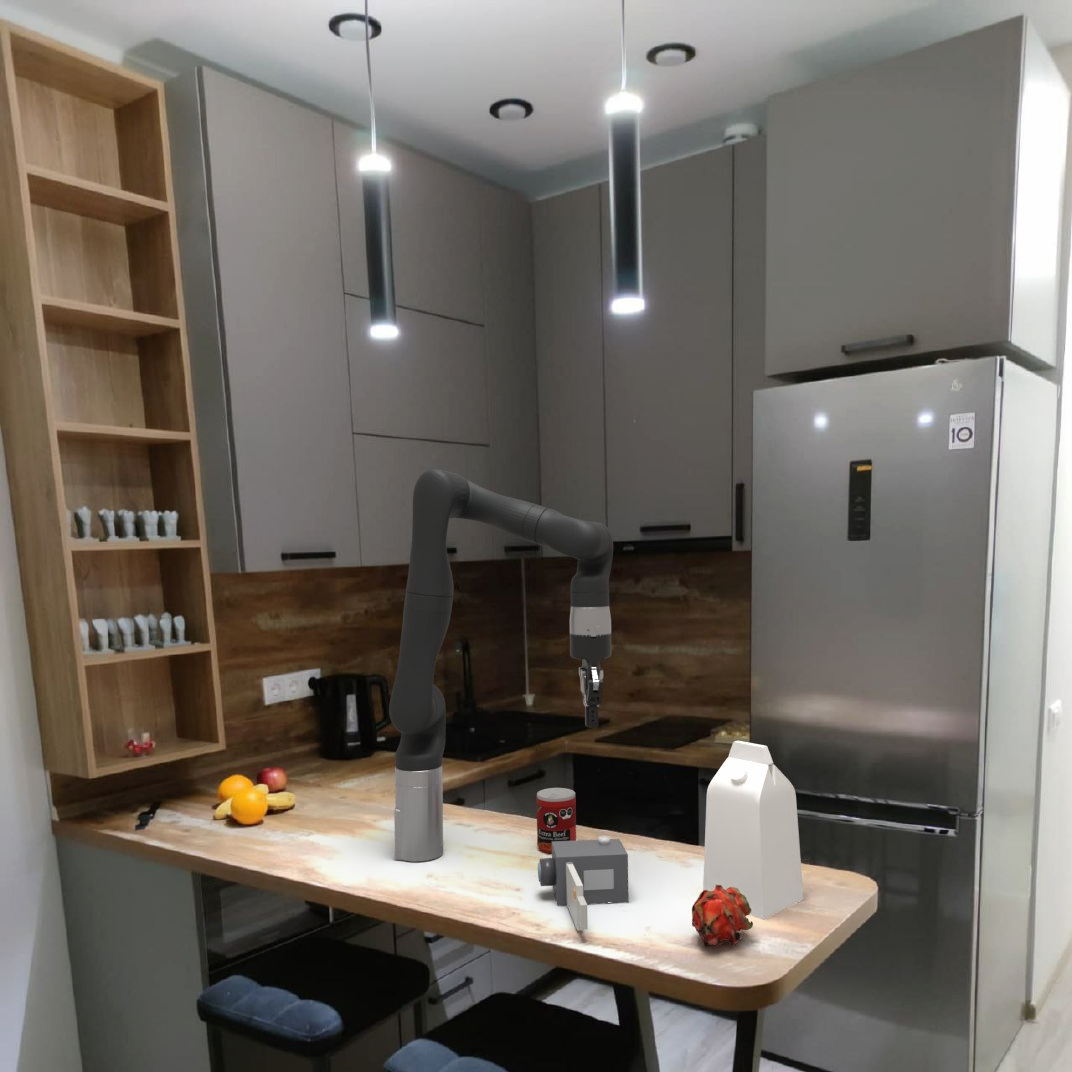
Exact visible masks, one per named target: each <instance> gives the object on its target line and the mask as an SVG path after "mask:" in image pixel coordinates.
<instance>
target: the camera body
mask: <svg viewBox="0 0 1072 1072" xmlns="http://www.w3.org/2000/svg"><path fill="white" fill-rule="evenodd" d="M566 862H573V865H574V867H575V870H576V872H577V874H578V876H579V878H580V880H581V882H582V884H583V897H584V899H585V901H586V903H587V905H592V904H591V903H606V904H609V903H608V902H626V903H629V900H630V899H629V896H630V894H629V854H628V852H627V850H626V848H625V847H624V845H623V843H622V842H621V839H620V838H611V837H610V836H609V835H599V836H598V839H581V840H580V839H579V840H577V839H576V841H554V842H552V855H551V857H546V858H542V857H541V858H539V860H538V863H537V877H538V878H537V879H538V883H539V884H540V887H551V888H552V891H553V895H554V899H555V902H557V903H556V906H557V905H558V907H560V906H559V905H565V906H567V905H566Z"/></svg>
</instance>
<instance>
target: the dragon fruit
mask: <svg viewBox="0 0 1072 1072" xmlns="http://www.w3.org/2000/svg"><path fill="white" fill-rule="evenodd" d="M693 903H694V904H692V907H691V915H692V918H691V926H692V928H693V927H694V929H695V931H696V932H697V934H698V935H699V937H702V942H703V947H705V948H706V947H707V946H717V947H718V946H720V945H722V944H723V943H724V941H728V943H729V944H730V945H732V946H735V945H736V944H738V943H739V942H740V941H741V939H742V937H743V936H744V935H745V933H744V932H743V931H749V930H750V929H752V928H753V927H754V926H753V925H754V923H753V921H750V920H749V918H748V917H747V916H750V915H749V914H750V913H751V908H750V907H749V903H748V901H747V899H746V897H745V896H744V895H743V894H741V893H740V892H739V890H738V889H737V888H735V887H729V888H727V889H726V890H725V889H723V887H722V886H721V885H715V890H714V891H708V890H704V891H703V890H702V891H701V892H700V894H699V895H698V897H697V899H696V900H695V902H693Z"/></svg>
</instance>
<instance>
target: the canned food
mask: <svg viewBox="0 0 1072 1072" xmlns="http://www.w3.org/2000/svg"><path fill="white" fill-rule="evenodd" d="M576 804H577V802H576V792H575V791H574V790H573V789H570V788H565V787H549V788H544V789H541V790H539V791H537V793H536V835H537V836H536V837H537V838H536V841H537V842H536V843H537V849H538V850H539V851H540V852H541V853H542V854H545V853H546V855H551V854H552V842H554V841H577V809H576V807H577V805H576Z"/></svg>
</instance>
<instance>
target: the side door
mask: <svg viewBox="0 0 1072 1072" xmlns="http://www.w3.org/2000/svg"><path fill="white" fill-rule="evenodd" d="M565 906H567V908H568V911H569V913H570V915H571V918H572V921H573V923H574V925H575V928H576V930H577V931H585V930H588V928H589V927H588V922H589V920H588V904H587V903H586V901H585V899H584V897H583V884H582V882H581V880H580V878H579V876H578V874H577V872H576V870H575V867H574V865H573V862H566V905H565Z"/></svg>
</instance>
